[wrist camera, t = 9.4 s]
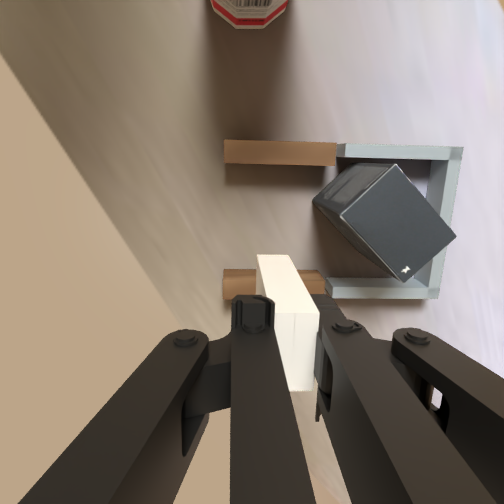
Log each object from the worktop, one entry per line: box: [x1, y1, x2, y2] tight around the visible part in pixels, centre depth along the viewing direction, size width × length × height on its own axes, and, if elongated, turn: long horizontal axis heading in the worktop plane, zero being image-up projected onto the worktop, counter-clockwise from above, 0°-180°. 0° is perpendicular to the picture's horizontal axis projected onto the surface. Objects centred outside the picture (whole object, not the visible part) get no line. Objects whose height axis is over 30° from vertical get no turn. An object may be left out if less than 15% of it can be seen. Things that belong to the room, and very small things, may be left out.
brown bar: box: [223, 140, 337, 299], centre depth 36 cm, size 15×10×4 cm, turn 178°
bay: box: [325, 143, 463, 299], centre depth 36 cm, size 15×11×3 cm
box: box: [312, 163, 456, 283], centre depth 32 cm, size 8×6×11 cm
